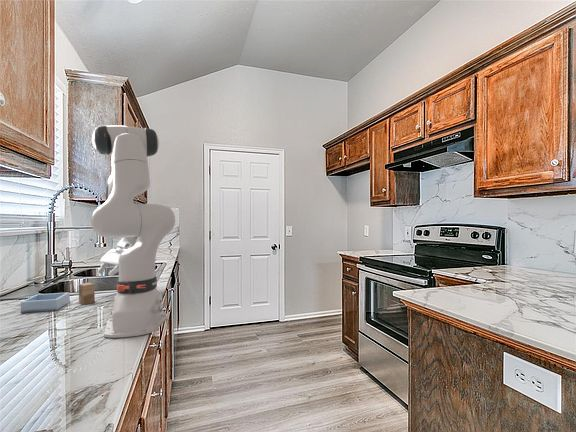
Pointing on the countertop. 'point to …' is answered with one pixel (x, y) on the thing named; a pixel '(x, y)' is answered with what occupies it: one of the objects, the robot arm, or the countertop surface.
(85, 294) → the block
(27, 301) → the box
